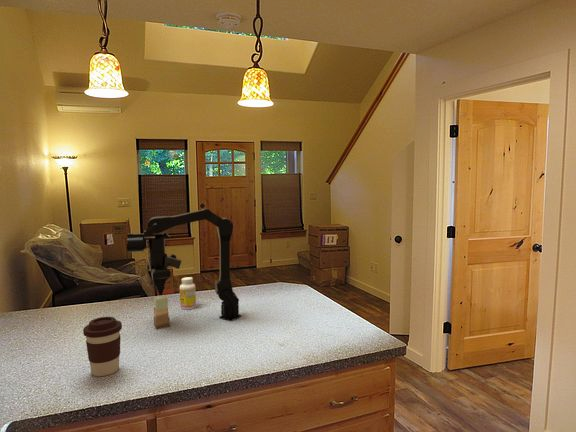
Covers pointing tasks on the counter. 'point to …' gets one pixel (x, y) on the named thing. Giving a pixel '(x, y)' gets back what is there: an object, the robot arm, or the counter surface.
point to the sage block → (161, 302)
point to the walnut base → (161, 323)
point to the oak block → (161, 313)
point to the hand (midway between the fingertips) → (158, 291)
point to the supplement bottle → (187, 294)
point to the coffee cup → (103, 345)
